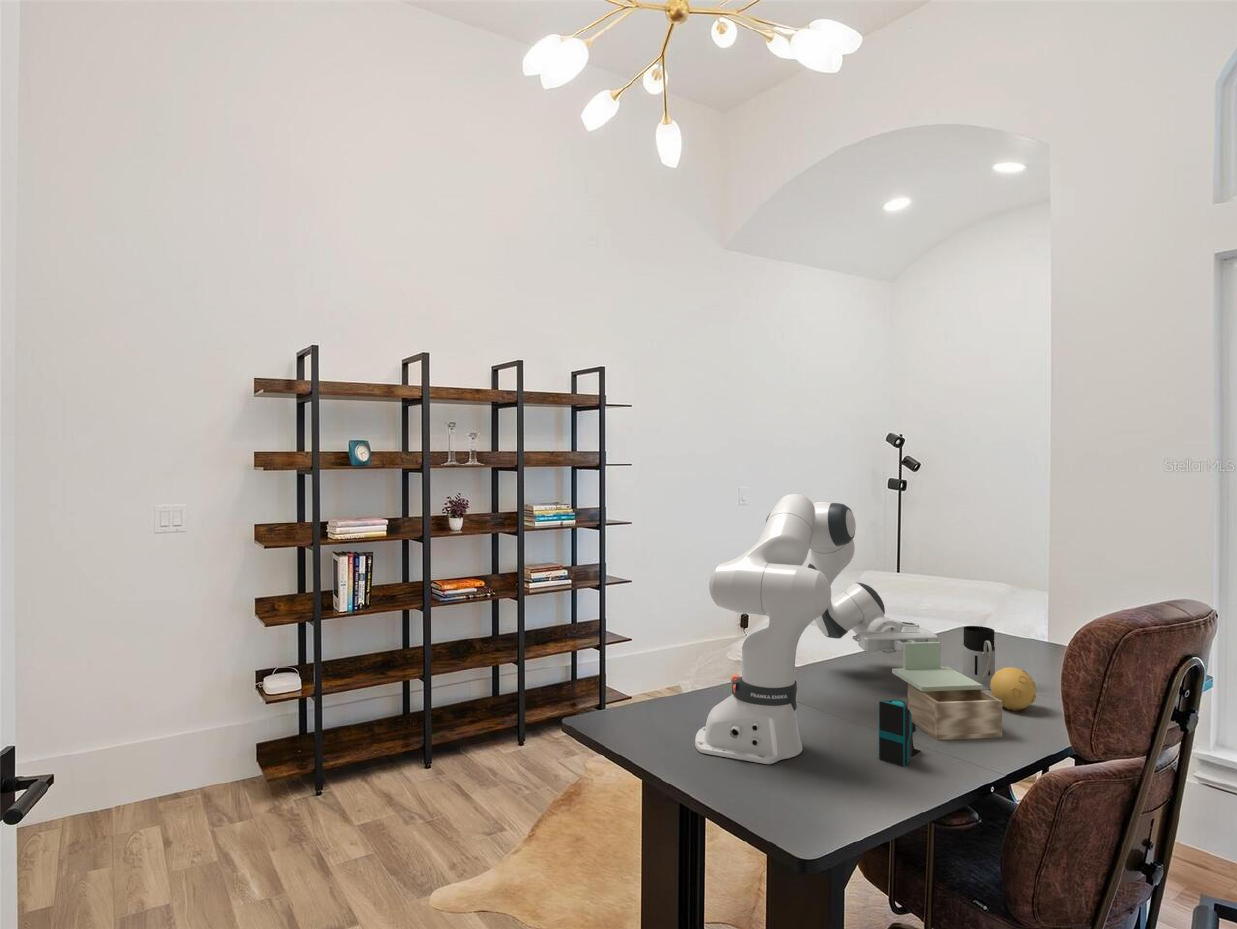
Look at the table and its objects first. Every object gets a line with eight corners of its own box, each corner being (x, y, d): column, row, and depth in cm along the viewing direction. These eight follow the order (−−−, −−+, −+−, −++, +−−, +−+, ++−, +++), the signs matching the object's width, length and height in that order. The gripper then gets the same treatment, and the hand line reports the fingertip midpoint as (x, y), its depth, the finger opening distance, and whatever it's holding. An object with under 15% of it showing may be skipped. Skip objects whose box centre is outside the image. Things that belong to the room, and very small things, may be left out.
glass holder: (990, 680, 201) (991, 626, 201) (1008, 697, 187) (1009, 639, 187) (956, 678, 203) (957, 624, 202) (972, 695, 189) (972, 637, 188)
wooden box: (936, 739, 159) (937, 703, 159) (907, 718, 172) (907, 684, 172) (1001, 737, 161) (1002, 701, 161) (967, 716, 174) (968, 682, 174)
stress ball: (985, 710, 180) (1000, 694, 173) (983, 673, 186) (997, 656, 179) (1028, 719, 179) (1045, 704, 171) (1025, 681, 185) (1041, 665, 177)
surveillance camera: (925, 695, 152) (904, 707, 145) (925, 753, 153) (904, 767, 146) (899, 689, 156) (877, 700, 149) (898, 745, 157) (877, 759, 150)
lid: (921, 691, 166) (921, 659, 166) (892, 672, 180) (892, 642, 180) (982, 689, 168) (982, 657, 168) (948, 671, 182) (948, 641, 182)
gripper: (849, 624, 198) (872, 637, 184) (922, 623, 200) (950, 635, 186) (849, 648, 198) (872, 662, 184) (922, 646, 200) (949, 660, 186)
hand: (912, 649), depth 185 cm, fingers closed
